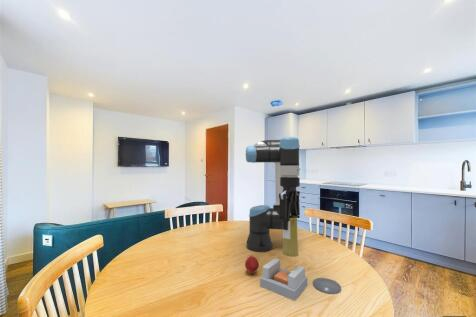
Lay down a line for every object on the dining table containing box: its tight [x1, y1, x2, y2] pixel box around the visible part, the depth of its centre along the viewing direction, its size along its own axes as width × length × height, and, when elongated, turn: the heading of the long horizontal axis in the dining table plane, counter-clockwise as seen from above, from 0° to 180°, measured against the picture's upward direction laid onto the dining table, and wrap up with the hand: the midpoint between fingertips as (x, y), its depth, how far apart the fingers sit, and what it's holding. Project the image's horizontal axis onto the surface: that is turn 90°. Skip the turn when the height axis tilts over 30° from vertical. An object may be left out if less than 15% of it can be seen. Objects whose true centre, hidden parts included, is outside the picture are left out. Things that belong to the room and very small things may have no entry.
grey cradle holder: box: [259, 258, 308, 301], centre depth 80 cm, size 14×12×7 cm
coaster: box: [312, 277, 342, 295], centre depth 80 cm, size 10×10×1 cm
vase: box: [282, 215, 299, 258], centre depth 81 cm, size 6×6×14 cm
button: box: [274, 270, 290, 285], centre depth 80 cm, size 6×6×4 cm
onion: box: [244, 254, 260, 275], centre depth 89 cm, size 6×6×8 cm
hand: (290, 236), depth 81 cm, fingers closed on vase, 5 cm apart
